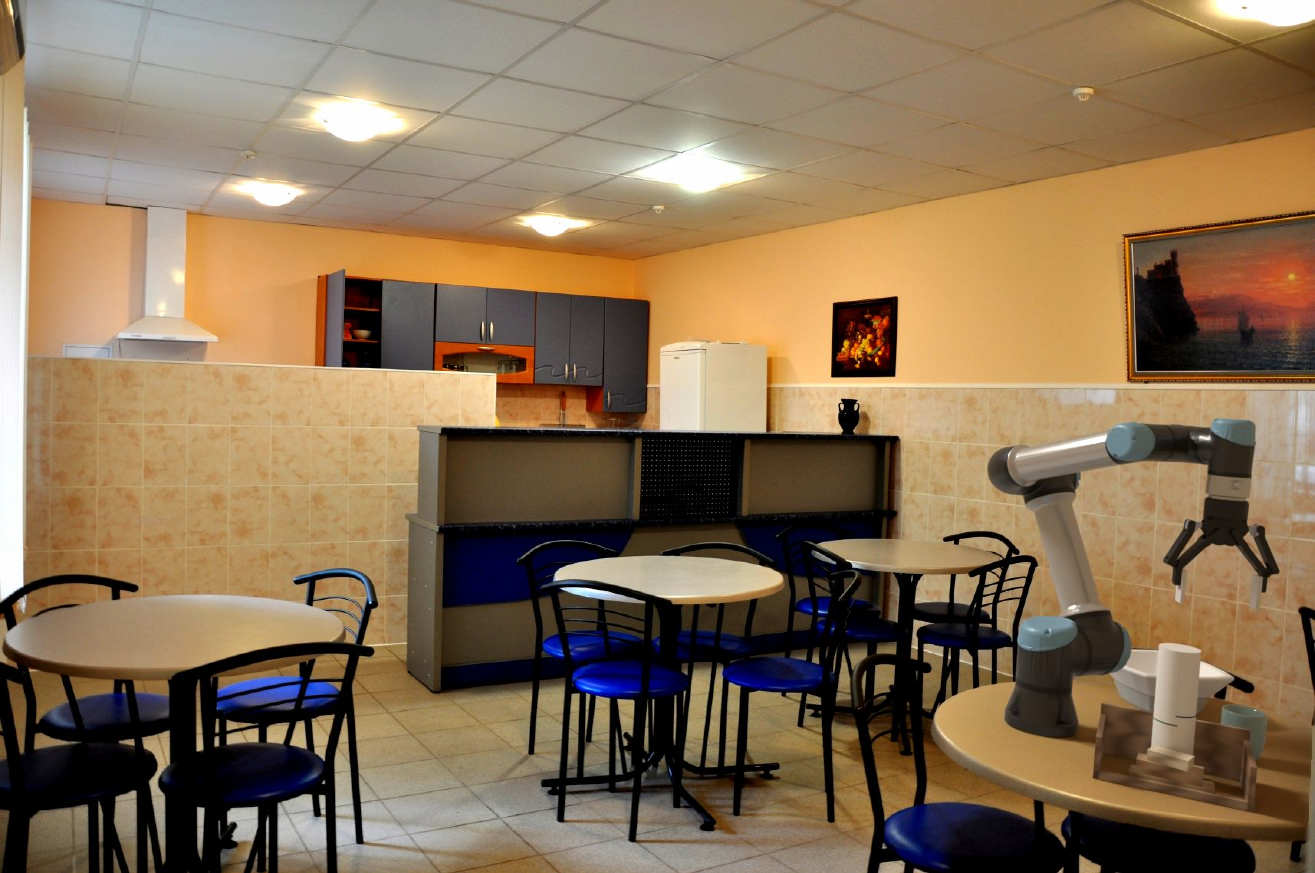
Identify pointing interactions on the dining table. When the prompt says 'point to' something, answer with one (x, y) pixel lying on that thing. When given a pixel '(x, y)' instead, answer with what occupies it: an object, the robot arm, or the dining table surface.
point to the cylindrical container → (1176, 697)
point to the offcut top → (1170, 758)
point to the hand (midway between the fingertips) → (1216, 605)
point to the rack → (1213, 750)
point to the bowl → (1141, 680)
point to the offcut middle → (1169, 771)
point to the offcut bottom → (1205, 787)
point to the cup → (1247, 724)
